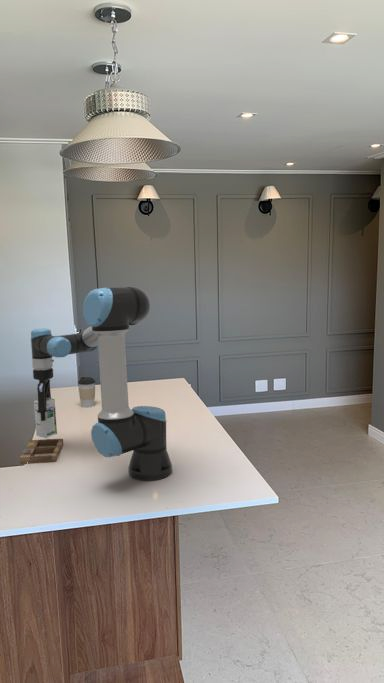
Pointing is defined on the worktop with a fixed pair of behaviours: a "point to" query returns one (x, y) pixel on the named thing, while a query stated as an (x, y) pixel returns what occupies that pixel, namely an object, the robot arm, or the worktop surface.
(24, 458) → the socket board
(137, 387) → the worktop surface
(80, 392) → the coffee cup
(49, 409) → the syrup box
